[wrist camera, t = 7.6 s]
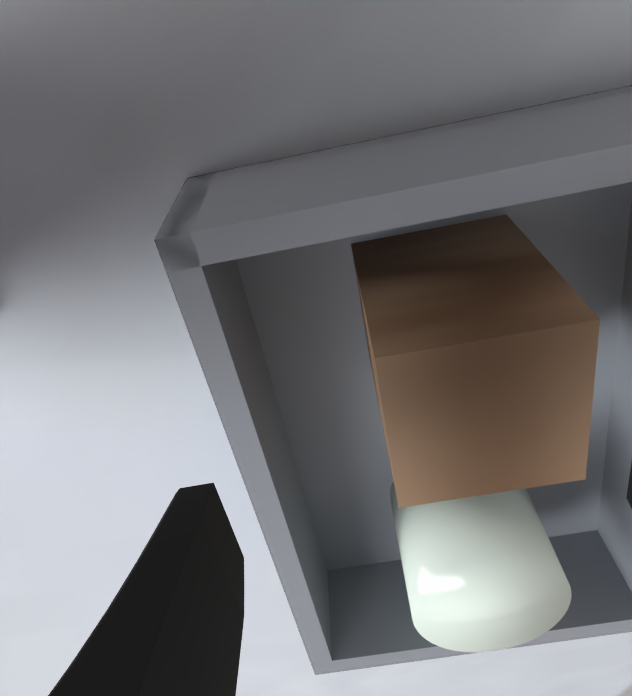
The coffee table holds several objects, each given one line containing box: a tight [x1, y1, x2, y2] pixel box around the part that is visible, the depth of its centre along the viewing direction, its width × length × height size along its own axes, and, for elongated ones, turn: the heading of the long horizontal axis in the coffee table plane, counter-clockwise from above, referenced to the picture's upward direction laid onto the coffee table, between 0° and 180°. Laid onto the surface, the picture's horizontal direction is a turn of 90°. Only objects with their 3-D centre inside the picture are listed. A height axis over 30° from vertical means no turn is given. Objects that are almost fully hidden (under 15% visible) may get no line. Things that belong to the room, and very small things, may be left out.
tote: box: [155, 86, 632, 675], centre depth 19 cm, size 13×18×4 cm
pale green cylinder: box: [390, 481, 571, 652], centre depth 20 cm, size 5×5×5 cm
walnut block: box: [351, 214, 600, 508], centre depth 15 cm, size 4×4×6 cm
